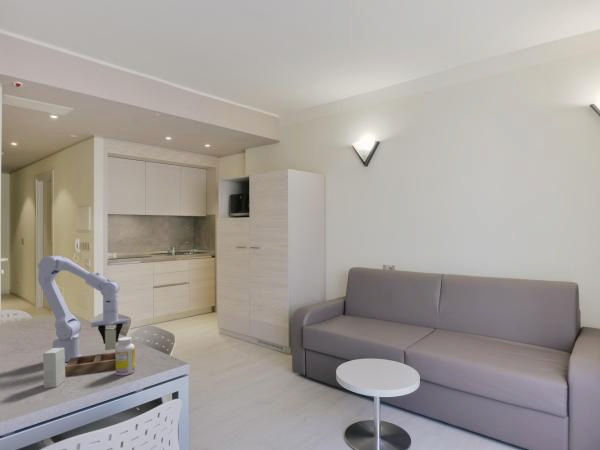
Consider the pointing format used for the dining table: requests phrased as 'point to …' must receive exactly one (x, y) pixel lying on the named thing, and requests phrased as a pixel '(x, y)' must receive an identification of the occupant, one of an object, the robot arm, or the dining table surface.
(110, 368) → the walnut rail
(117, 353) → the supplement bottle
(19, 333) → the dining table surface
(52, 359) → the skincare box
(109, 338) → the sage peg
